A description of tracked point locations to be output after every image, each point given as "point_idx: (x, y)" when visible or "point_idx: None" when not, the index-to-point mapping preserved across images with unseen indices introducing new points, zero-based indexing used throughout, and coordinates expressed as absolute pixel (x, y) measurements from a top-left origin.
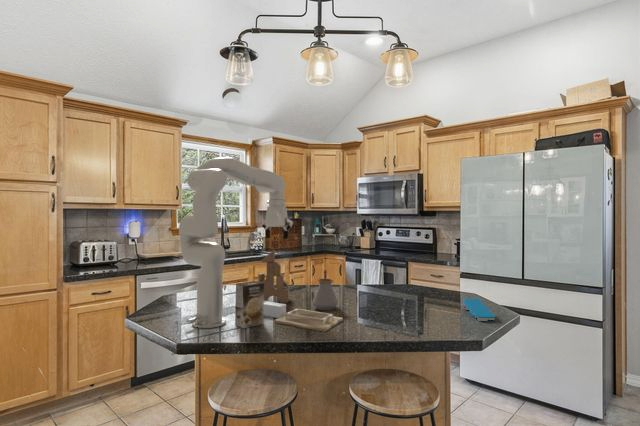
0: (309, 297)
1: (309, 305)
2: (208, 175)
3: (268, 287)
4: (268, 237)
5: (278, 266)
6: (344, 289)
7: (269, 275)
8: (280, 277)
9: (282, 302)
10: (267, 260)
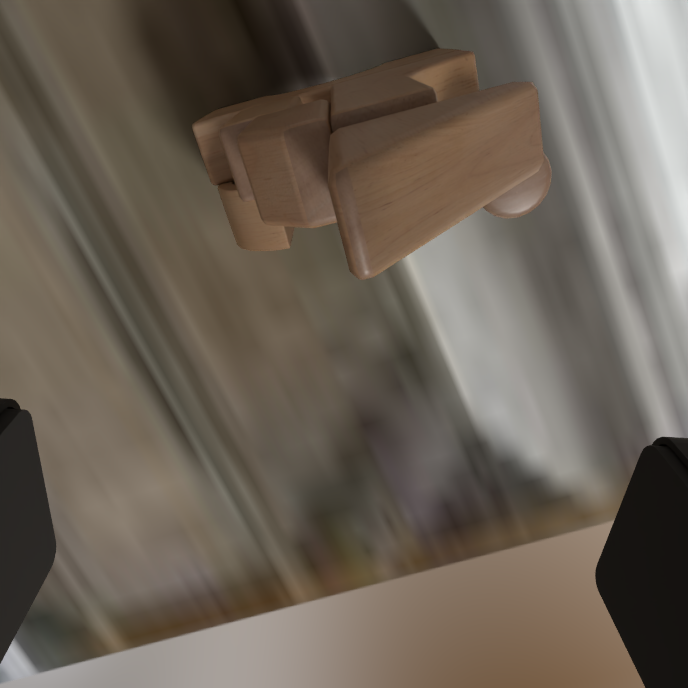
0: (141, 317)
1: (14, 87)
2: None
3: (374, 73)
4: (632, 511)
5: (251, 128)
6: None
7: (372, 84)
8: (243, 117)
9: (254, 99)
10: (431, 107)
